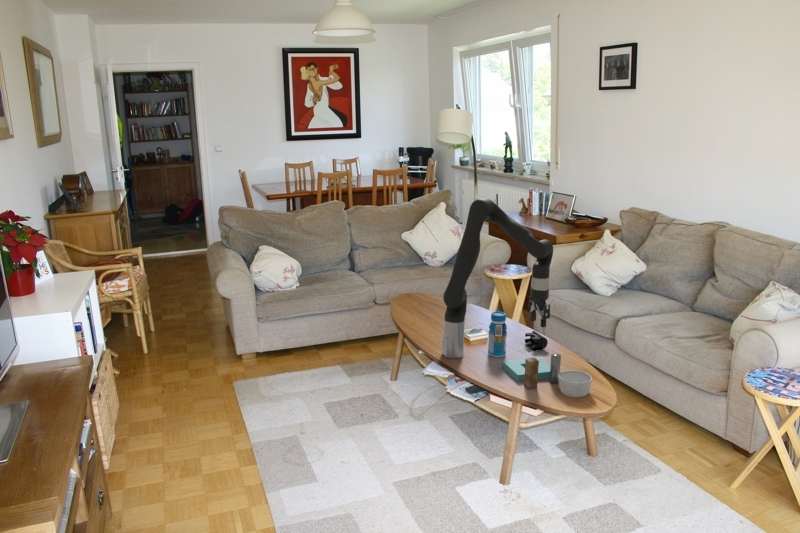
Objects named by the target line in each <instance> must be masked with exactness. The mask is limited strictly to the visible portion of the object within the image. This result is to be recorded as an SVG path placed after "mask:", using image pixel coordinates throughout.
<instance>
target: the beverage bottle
mask: <svg viewBox="0 0 800 533" xmlns="http://www.w3.org/2000/svg"><path fill="white" fill-rule="evenodd" d="M506 319H507V314H506V313H505V312H503V311H493V312H491V313H490V321H491V322H490V324H489V326H488V328H489V330H488V343H487V344H488V347H487V353H488V355H489V356H491V357H494V358H501V357H502V358H503V357H505V356H506V353H507V351H506V348H507V335H508V331H507V329H508V326H507V324H506V321H507V320H506Z"/></svg>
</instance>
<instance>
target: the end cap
mask: <svg viewBox="0 0 800 533" xmlns="http://www.w3.org/2000/svg"><path fill="white" fill-rule="evenodd" d="M524 337H525V339H524V346H526V347H527V348H528V347H529V348H528V349H529V350H531V351H532V350H533V351H532V352H537V351H536V350H541V351H543V350H544V349H545V348H547V346H548V344H549V343H548V339H547V338H546V337H545V336H543V335H542V334H540V333H539V332H537V331H535V330H532V332H525V336H524ZM527 337H529V338H527Z"/></svg>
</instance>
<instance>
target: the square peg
mask: <svg viewBox="0 0 800 533" xmlns="http://www.w3.org/2000/svg"><path fill="white" fill-rule="evenodd" d="M536 358H537V357H526V358H525V359H526V360H525V377H524V381H523V386H524V388H526V389H527V390H533V389H537V388H538V382H539V381H538V380H539V379H538V367H539V361H538V360H537V359H536Z"/></svg>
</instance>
